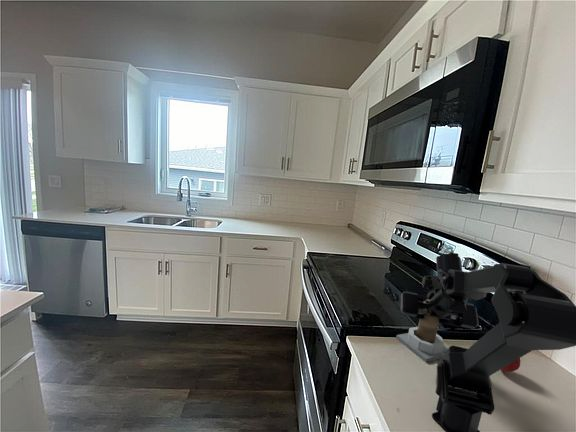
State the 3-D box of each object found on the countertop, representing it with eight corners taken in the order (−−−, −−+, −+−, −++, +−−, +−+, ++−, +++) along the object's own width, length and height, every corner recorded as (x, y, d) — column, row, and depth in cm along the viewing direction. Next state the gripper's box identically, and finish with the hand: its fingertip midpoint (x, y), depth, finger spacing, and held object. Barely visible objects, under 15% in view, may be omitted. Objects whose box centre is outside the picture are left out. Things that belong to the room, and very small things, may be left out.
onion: (522, 380, 72) (530, 352, 71) (500, 377, 72) (507, 350, 71) (505, 364, 78) (512, 339, 77) (485, 362, 78) (491, 336, 77)
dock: (453, 355, 79) (455, 344, 79) (425, 362, 75) (428, 350, 75) (421, 333, 89) (424, 323, 89) (396, 337, 85) (398, 327, 84)
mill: (436, 347, 79) (446, 304, 77) (418, 344, 80) (427, 301, 78) (430, 337, 84) (439, 297, 82) (413, 334, 85) (421, 294, 82)
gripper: (483, 277, 72) (459, 299, 85) (408, 264, 76) (395, 286, 89) (491, 320, 66) (463, 336, 78) (408, 303, 70) (394, 321, 82)
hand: (427, 318), depth 82 cm, fingers closed on mill, 5 cm apart
